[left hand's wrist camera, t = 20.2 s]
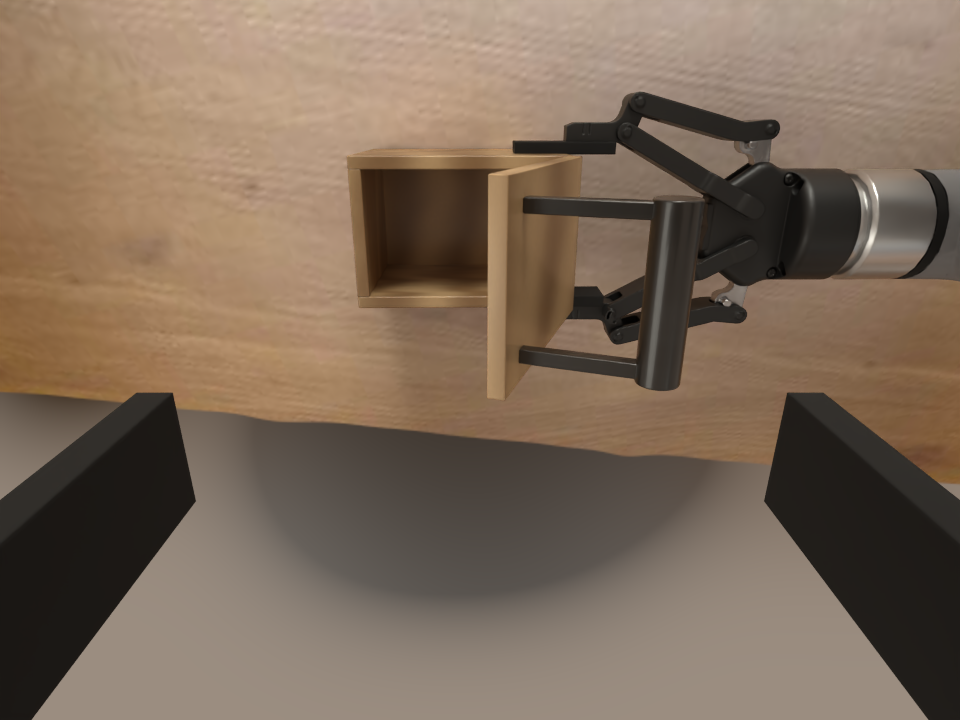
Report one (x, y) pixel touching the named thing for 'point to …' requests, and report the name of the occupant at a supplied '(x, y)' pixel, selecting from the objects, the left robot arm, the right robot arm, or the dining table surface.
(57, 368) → the dining table surface
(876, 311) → the dining table surface
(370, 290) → the chest
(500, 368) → the lid
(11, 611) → the left robot arm
